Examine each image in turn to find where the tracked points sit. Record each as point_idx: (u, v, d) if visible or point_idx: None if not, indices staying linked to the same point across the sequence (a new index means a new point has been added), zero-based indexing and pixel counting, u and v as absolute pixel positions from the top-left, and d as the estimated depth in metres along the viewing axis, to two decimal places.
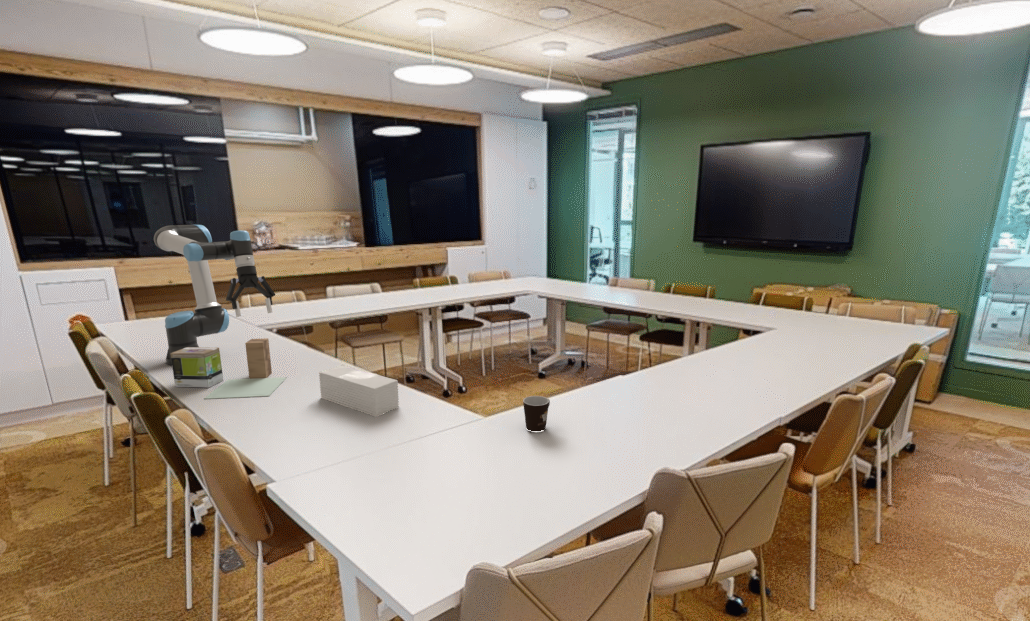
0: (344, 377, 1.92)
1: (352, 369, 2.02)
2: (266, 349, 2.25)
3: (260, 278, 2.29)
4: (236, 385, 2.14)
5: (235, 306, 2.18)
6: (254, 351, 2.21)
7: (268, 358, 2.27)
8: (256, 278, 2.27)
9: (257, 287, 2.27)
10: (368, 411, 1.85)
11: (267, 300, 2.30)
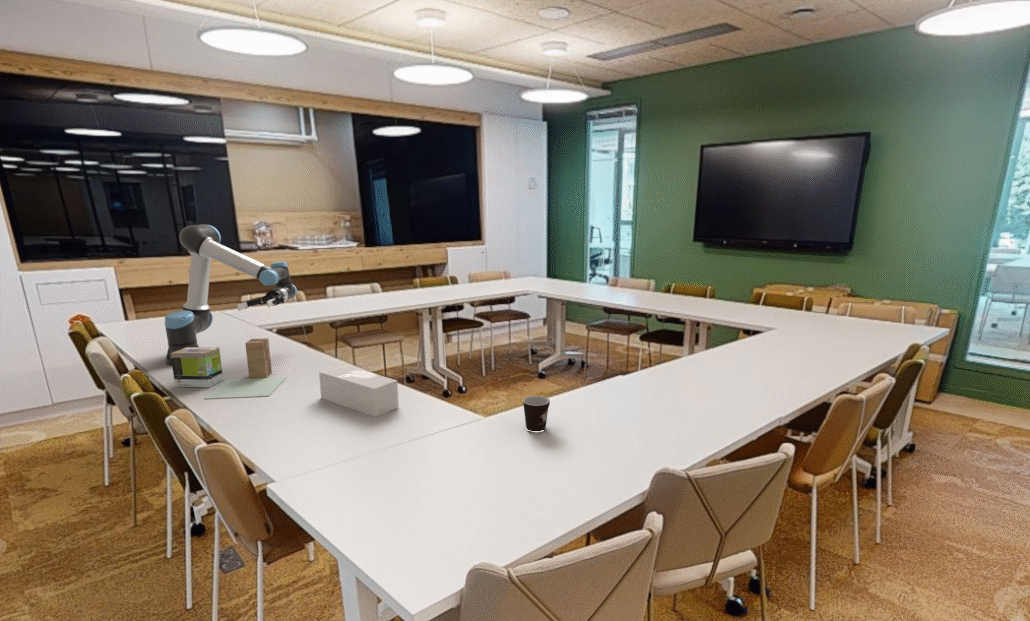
0: (344, 377, 1.92)
1: (352, 369, 2.02)
2: (266, 349, 2.25)
3: None
4: (236, 385, 2.14)
5: (275, 303, 2.34)
6: (254, 351, 2.21)
7: (268, 358, 2.27)
8: None
9: (260, 302, 2.41)
10: (368, 411, 1.85)
11: (246, 306, 2.35)
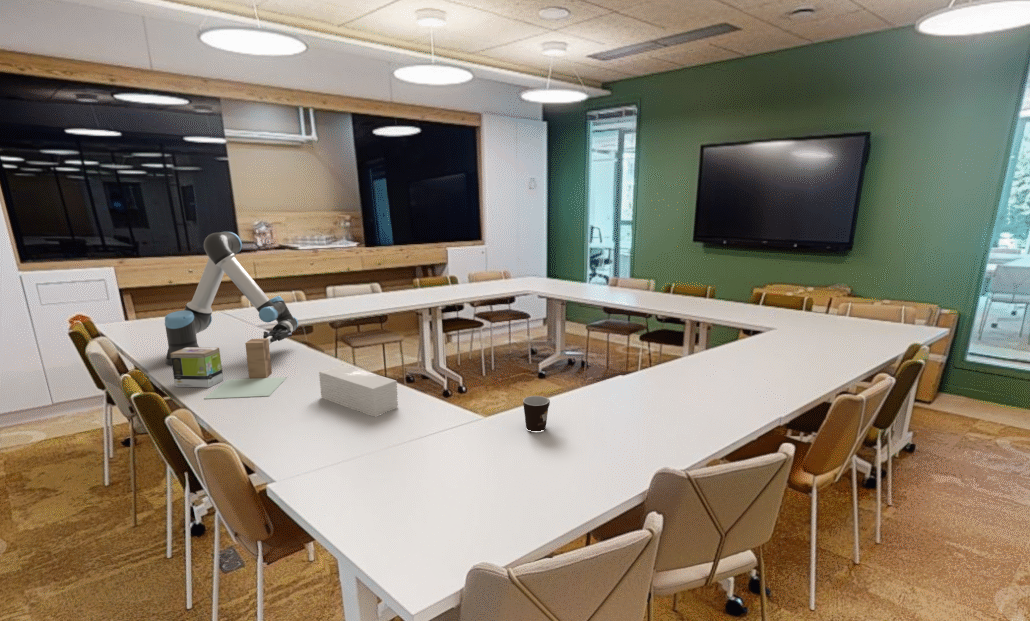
0: (344, 377, 1.92)
1: (352, 369, 2.02)
2: (266, 349, 2.25)
3: None
4: (236, 385, 2.14)
5: None
6: (254, 351, 2.21)
7: (268, 358, 2.27)
8: None
9: None
10: (367, 411, 1.85)
11: None
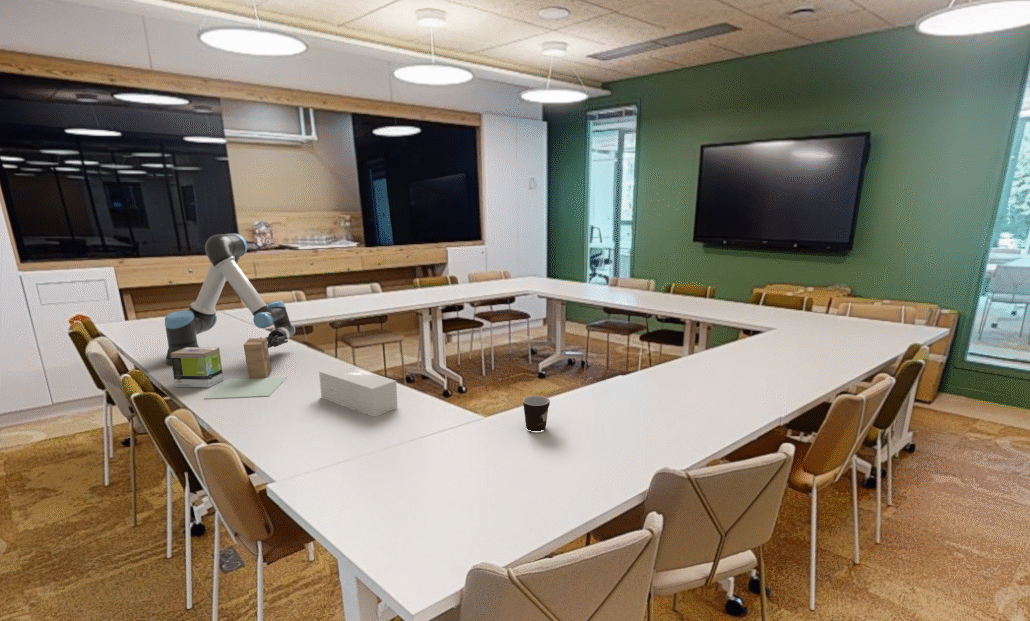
0: (344, 377, 1.92)
1: (352, 369, 2.02)
2: (264, 349, 2.23)
3: None
4: (236, 385, 2.14)
5: None
6: (253, 352, 2.19)
7: (267, 357, 2.26)
8: None
9: None
10: (366, 411, 1.85)
11: None
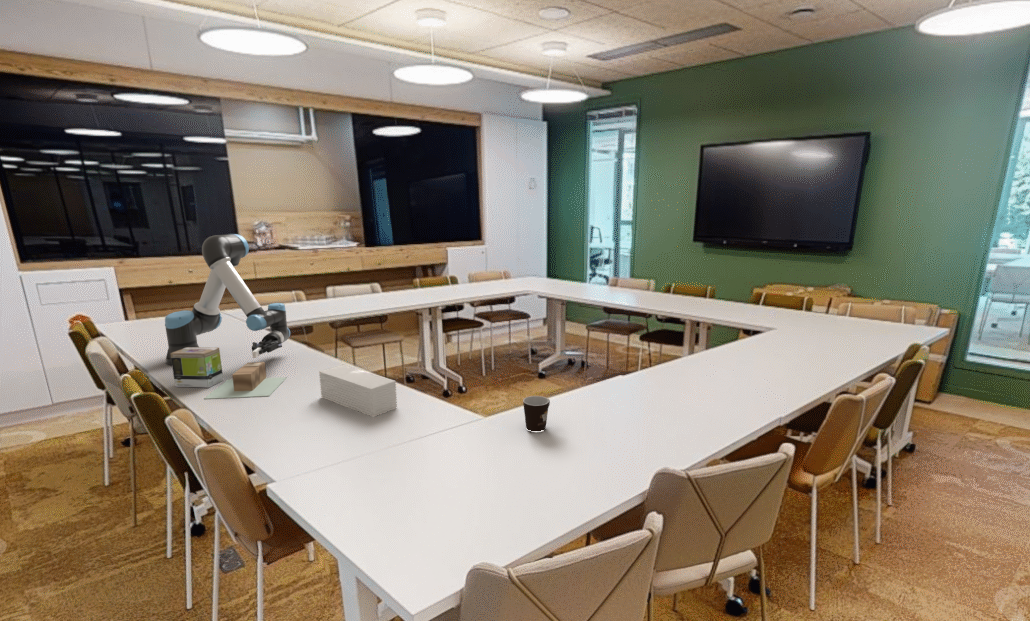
0: (343, 377, 1.92)
1: (352, 369, 2.02)
2: (255, 379, 2.11)
3: None
4: None
5: None
6: None
7: (259, 372, 2.15)
8: None
9: None
10: (365, 411, 1.85)
11: None
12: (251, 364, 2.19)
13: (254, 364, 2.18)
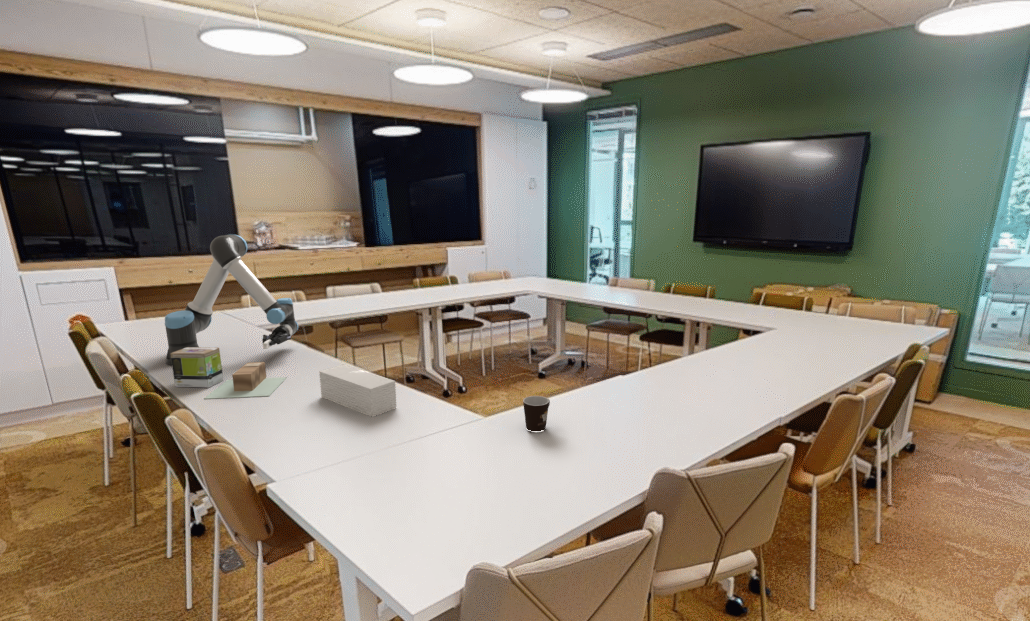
0: (343, 377, 1.92)
1: (352, 369, 2.02)
2: (255, 379, 2.11)
3: None
4: None
5: None
6: None
7: (259, 372, 2.15)
8: None
9: None
10: (365, 411, 1.85)
11: None
12: (251, 364, 2.19)
13: (254, 364, 2.18)
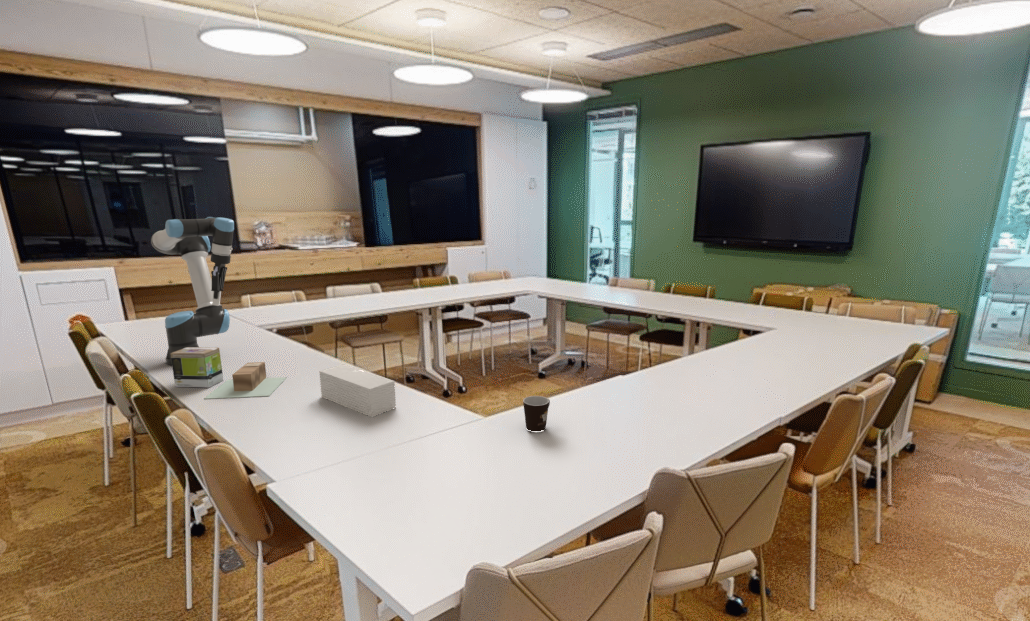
0: (343, 377, 1.93)
1: (352, 369, 2.02)
2: (255, 379, 2.11)
3: None
4: None
5: (217, 296, 2.30)
6: None
7: (259, 372, 2.15)
8: None
9: None
10: (364, 411, 1.85)
11: None
12: (251, 364, 2.19)
13: (254, 364, 2.18)
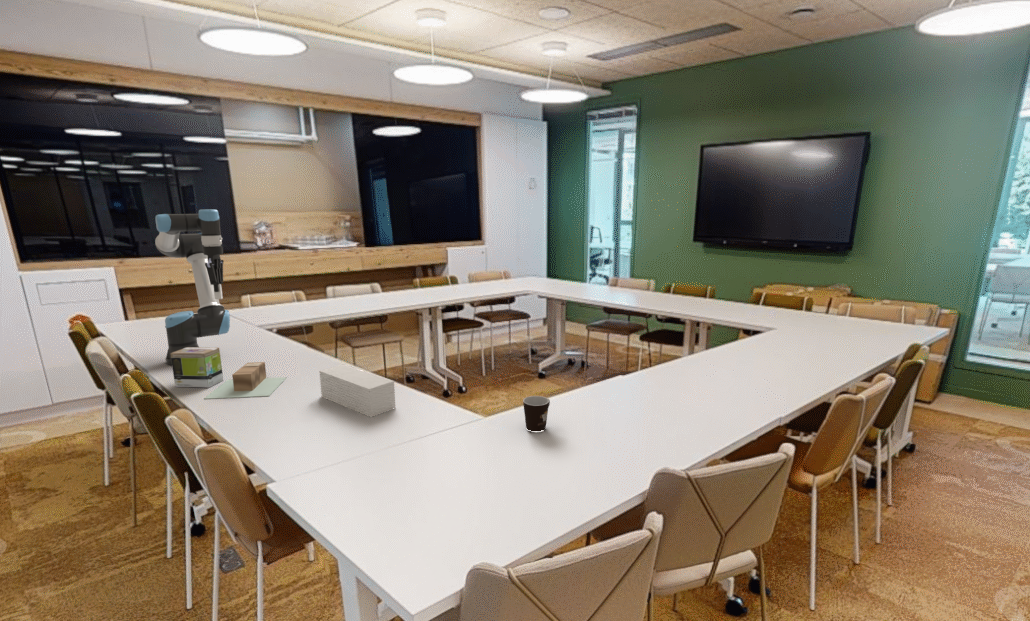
0: (343, 377, 1.93)
1: (352, 369, 2.03)
2: (255, 379, 2.11)
3: None
4: None
5: (218, 289, 2.29)
6: None
7: (259, 372, 2.15)
8: (219, 257, 2.30)
9: None
10: (364, 411, 1.85)
11: None
12: (251, 364, 2.19)
13: (254, 364, 2.18)
